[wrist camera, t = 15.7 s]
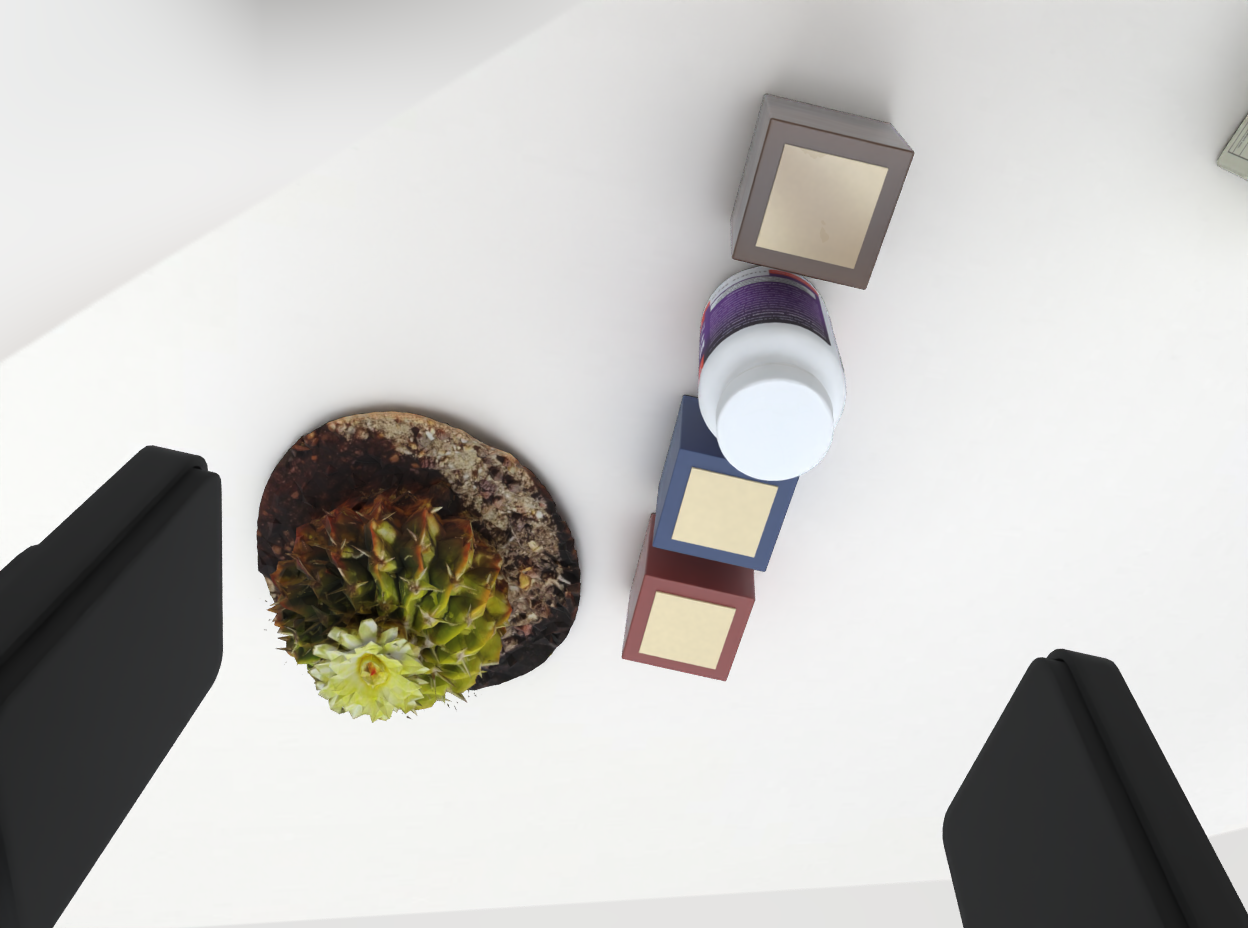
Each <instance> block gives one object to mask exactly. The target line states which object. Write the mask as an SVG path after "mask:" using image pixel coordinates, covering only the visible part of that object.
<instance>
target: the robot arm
mask: <svg viewBox="0 0 1248 928" xmlns="http://www.w3.org/2000/svg"><path fill="white" fill-rule="evenodd" d="M222 655H223V610H222V492H221V479H220V477H219V475H218V474H217V473H214V472H209V471H208V468H207V464H206V461H205V459H204V458H202V457H201V456H198V455H193V454H189V453H184V452H180V451H175V450H171V449H166V448H162V447H157V446H153V445H152V446H146V447H145V448H143V449H142V450H140V451H139V452H138V453H137V454H136V455H135V456H134V457H133V458H132V459H130V460H129V461H128V462H127V463H126V464H125V465H124V466H123V467H122V468H121V469H120V470H119V471H117V472H116V473H115V474H114V475H113V476H112V477H111V478H110V479H109V480H108V481H107V482H106V483H105V484H103V485H102V486H101V487H100V488H99V489H98V490H97V491H96V492H95V493H94V494H93V495H92V496H90V497H89V498H88V499H87V500H86V501H85V502H84V503H83V504H82V505H81V506H80V507H79V508H78V509H76V510H75V511H74V512H73V513H72V514H71V515H70V516H69V517H68V518H67V519H66V520H65V521H63V522H62V523H61V524H60V525H59V526H58V527H57V528H56V529H55V530H54V531H53V532H52V533H50V534H49V535H48V536H47V537H46V538H45V539H44V540H43V541H42V542H41V543H40V544H38V545H34V546H30V547H29V548H27V549H26V550H25V551H23V552H22V553H20V554H19V555H18V556H16V557H15V558H14V559H13V560H12V561H11V562H10V563H9V564H8V565H7V566H5V567H4V568H3V569H2V570H1V571H0V928H53V927H54V925H55V923H56V922H57V920H58V919H59V917H60V916H61V914H62V913H63V911H64V910H65V908H66V907H67V905H68V904H69V902H70V901H71V899H72V898H73V896H74V895H75V893H76V892H77V890H78V889H79V887H80V886H81V884H82V882H83V881H84V879H85V878H86V876H87V875H88V873H89V872H90V870H91V869H92V867H93V866H94V864H95V863H96V861H97V860H98V858H99V857H100V855H101V854H102V852H103V851H104V849H105V848H106V846H107V845H108V843H109V841H110V840H111V838H112V837H113V835H114V834H115V832H116V831H117V829H118V828H119V826H120V825H121V823H122V822H123V820H124V819H125V817H126V816H127V814H128V813H129V811H130V810H131V808H132V807H133V805H134V803H135V802H136V800H137V799H138V797H139V796H140V794H141V793H142V791H143V790H144V788H145V787H146V785H147V784H148V782H149V781H150V779H151V778H152V776H153V775H154V773H155V772H156V770H157V769H158V767H159V766H160V764H161V762H162V761H163V759H164V758H165V756H166V755H167V753H168V752H169V750H170V749H171V747H172V746H173V744H174V743H175V741H176V740H177V738H178V737H179V735H180V734H181V732H182V731H183V729H184V728H185V726H186V725H187V723H188V721H189V720H190V718H191V717H192V715H193V714H194V712H195V711H196V709H197V708H198V706H199V705H200V703H201V702H202V700H203V699H204V697H205V696H206V694H207V693H208V691H209V690H210V688H211V687H212V685H213V683H214V681H215V679H216V677H217V675H218V672H219V669H220V666H221V661H222ZM943 843H944V848H945V852H946V856H947V861H948V865H949V869H950V873H951V877H952V881H953V886H954V890H955V893H956V898H957V902H958V906H959V910H960V915H961V919H962V923H963V927H964V928H1248V914H1247V912H1246V910H1245V908H1244V906H1243V904H1242V902H1241V900H1240V898H1239V896H1238V895H1237V893H1236V891H1235V889H1234V887H1233V885H1232V883H1231V882H1230V879H1229V878H1228V876H1227V874H1226V872H1225V870H1224V868H1223V866H1222V864H1221V862H1220V860H1219V859H1218V857H1217V855H1216V853H1215V851H1214V849H1213V847H1212V845H1211V843H1210V842H1209V840H1208V838H1207V836H1206V834H1205V832H1204V830H1203V828H1202V826H1201V824H1200V823H1199V821H1198V819H1197V817H1196V815H1195V813H1194V811H1193V809H1192V807H1191V805H1190V804H1189V802H1188V800H1187V798H1186V796H1185V794H1184V792H1183V790H1182V788H1181V787H1180V785H1179V783H1178V781H1177V779H1176V777H1175V775H1174V773H1173V771H1172V769H1171V768H1170V766H1169V764H1168V762H1167V760H1166V758H1165V756H1164V754H1163V752H1162V750H1161V749H1160V747H1159V745H1158V743H1157V741H1156V739H1155V737H1154V735H1153V733H1152V732H1151V730H1150V728H1149V726H1148V724H1147V722H1146V720H1145V718H1144V716H1143V714H1142V713H1141V711H1140V709H1139V707H1138V705H1137V703H1136V701H1135V699H1134V697H1133V695H1132V694H1131V692H1130V690H1129V688H1128V686H1127V684H1126V682H1125V680H1124V678H1123V677H1122V675H1121V673H1120V671H1119V669H1118V668H1117V666H1116V665H1115V664H1114V662H1112V661H1110V660H1108V659H1106V658H1101V657H1097V656H1092V655H1088V654H1083V653H1079V652H1074V651H1070V650H1065V649H1056V650H1054V651H1053V652H1051V653H1050V654H1049V655H1048V657H1047V658H1043V657H1040V658H1036V659H1035V660H1034V661H1033V662H1032V663H1031V664H1030V666H1029V667H1028V669H1027V671H1026V673H1025V674H1024V676H1023V678H1022V680H1021V681H1020V683H1019V685H1018V687H1017V688H1016V690H1015V692H1014V694H1013V695H1012V697H1011V699H1010V701H1009V702H1008V704H1007V706H1006V708H1005V709H1004V711H1003V713H1002V715H1001V716H1000V718H999V720H998V722H997V723H996V725H995V727H994V729H993V731H992V732H991V734H990V736H989V738H988V739H987V741H986V743H985V745H984V746H983V748H982V750H981V752H980V753H979V755H978V757H977V759H976V760H975V762H974V764H973V766H972V767H971V769H970V771H969V773H968V774H967V776H966V778H965V780H964V781H963V783H962V785H961V787H960V788H959V790H958V792H957V794H956V795H955V797H954V799H953V801H952V802H951V804H950V806H949V808H948V810H947V812H946V814H945V818H944V822H943Z"/></svg>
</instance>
